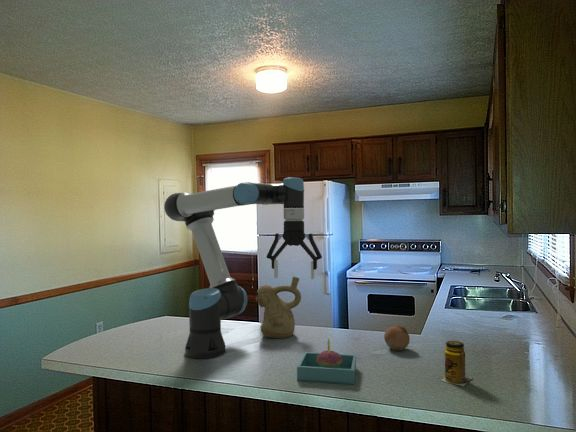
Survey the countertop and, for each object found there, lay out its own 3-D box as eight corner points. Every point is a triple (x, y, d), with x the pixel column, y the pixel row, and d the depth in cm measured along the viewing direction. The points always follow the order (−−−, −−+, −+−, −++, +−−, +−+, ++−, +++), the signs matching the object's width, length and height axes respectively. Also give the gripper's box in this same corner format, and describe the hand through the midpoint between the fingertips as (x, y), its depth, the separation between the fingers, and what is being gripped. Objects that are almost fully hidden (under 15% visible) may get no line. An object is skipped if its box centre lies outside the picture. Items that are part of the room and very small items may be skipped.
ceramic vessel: (257, 329, 203) (257, 274, 202) (301, 329, 202) (301, 274, 202) (253, 340, 186) (253, 280, 185) (301, 340, 185) (301, 280, 185)
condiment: (439, 381, 141) (439, 343, 141) (449, 373, 148) (449, 337, 148) (463, 387, 137) (463, 347, 137) (472, 378, 143) (472, 341, 143)
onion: (406, 356, 174) (418, 334, 173) (394, 355, 167) (407, 332, 166) (387, 342, 180) (399, 320, 179) (375, 341, 174) (387, 318, 173)
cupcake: (341, 378, 142) (341, 340, 142) (314, 377, 144) (314, 339, 144) (342, 369, 151) (342, 333, 151) (317, 367, 152) (317, 332, 152)
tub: (297, 380, 142) (297, 366, 142) (304, 365, 156) (304, 352, 156) (353, 384, 139) (353, 370, 139) (356, 368, 153) (356, 355, 153)
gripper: (258, 220, 164) (258, 278, 164) (326, 220, 159) (326, 280, 159) (263, 219, 171) (263, 275, 172) (329, 219, 166) (329, 277, 167)
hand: (294, 278), depth 166 cm, fingers open, 13 cm apart
